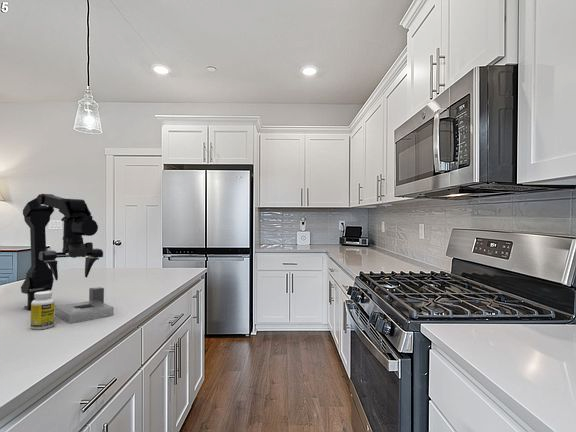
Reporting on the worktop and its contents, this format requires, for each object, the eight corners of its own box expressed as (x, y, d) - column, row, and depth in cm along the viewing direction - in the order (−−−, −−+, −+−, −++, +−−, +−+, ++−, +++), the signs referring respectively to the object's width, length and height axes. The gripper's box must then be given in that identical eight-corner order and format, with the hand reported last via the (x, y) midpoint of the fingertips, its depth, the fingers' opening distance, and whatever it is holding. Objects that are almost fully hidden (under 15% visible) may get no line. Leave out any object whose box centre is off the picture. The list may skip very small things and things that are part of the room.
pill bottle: (42, 330, 109) (42, 295, 109) (25, 329, 111) (26, 293, 111) (58, 325, 115) (59, 291, 115) (42, 323, 117) (43, 290, 117)
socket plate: (54, 314, 128) (55, 303, 128) (96, 307, 138) (96, 297, 138) (69, 323, 117) (69, 312, 117) (113, 315, 127) (113, 304, 127)
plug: (89, 305, 141) (89, 287, 141) (99, 304, 144) (100, 286, 144) (92, 307, 138) (93, 288, 138) (103, 305, 141) (103, 287, 141)
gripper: (47, 236, 113) (46, 285, 113) (109, 235, 126) (108, 279, 126) (39, 234, 120) (37, 280, 120) (98, 233, 134) (97, 274, 134)
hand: (71, 278), depth 125 cm, fingers open, 9 cm apart
